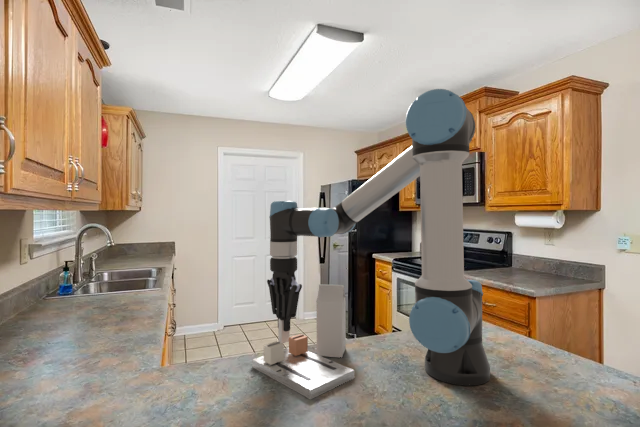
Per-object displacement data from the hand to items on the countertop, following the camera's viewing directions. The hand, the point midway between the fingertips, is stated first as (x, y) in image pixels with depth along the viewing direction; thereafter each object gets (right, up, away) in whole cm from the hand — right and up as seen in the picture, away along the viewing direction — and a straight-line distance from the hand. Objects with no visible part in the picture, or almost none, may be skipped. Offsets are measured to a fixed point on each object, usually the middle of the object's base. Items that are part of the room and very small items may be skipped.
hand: (284, 341), depth 101 cm
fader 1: (-2, -1, -10) cm, 10 cm away
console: (+5, -4, -12) cm, 13 cm away
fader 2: (+4, -1, -5) cm, 6 cm away
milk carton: (+13, -4, +1) cm, 14 cm away
